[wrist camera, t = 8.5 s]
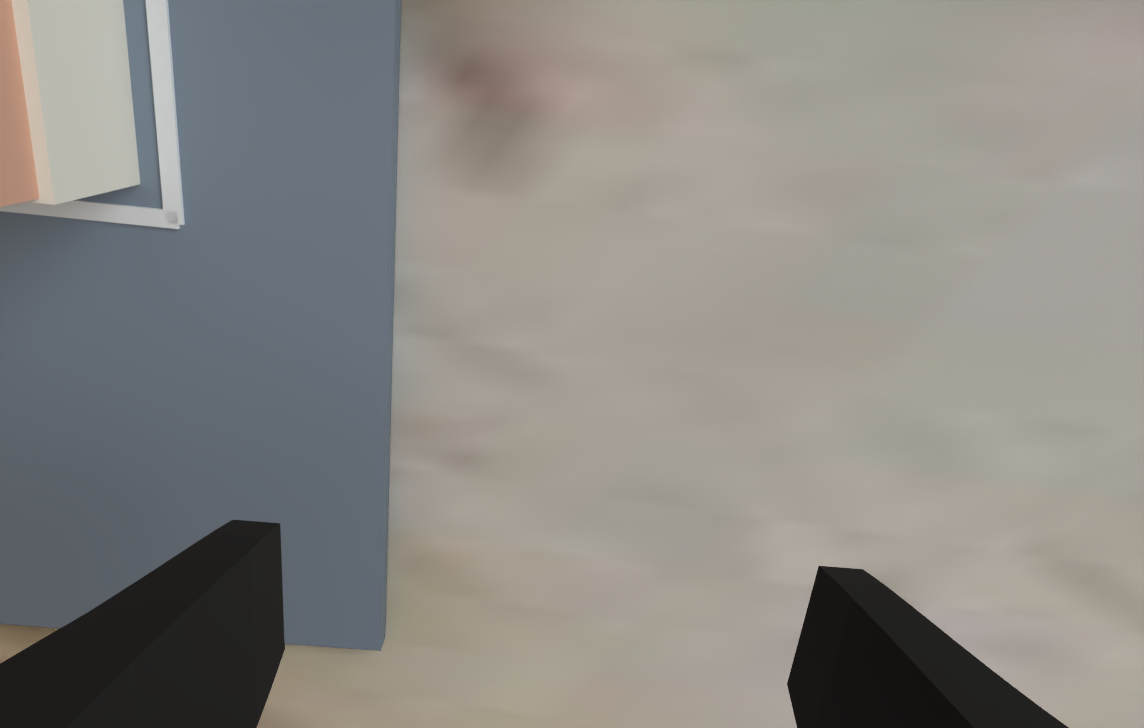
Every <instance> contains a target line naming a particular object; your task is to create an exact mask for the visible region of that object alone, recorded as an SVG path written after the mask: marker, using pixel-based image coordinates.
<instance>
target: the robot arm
mask: <svg viewBox="0 0 1144 728" xmlns="http://www.w3.org/2000/svg"><path fill="white" fill-rule="evenodd" d="M284 650H285V643H284V614H283V586H282V557H281V529H280V523H270V522H258V521H245V520H231V521H230V522H228V523H226V524H224V525H223V526H221V527H219V528H218V529H216V530H215V531H213V532H211V533H210V534H208V535H207V536H205V537H204V538H202V539H200V540H199V541H197V542H196V543H194V544H193V545H191V546H190V547H188V548H187V549H185V550H184V551H182V552H181V553H179V554H178V555H176V556H175V557H173V558H171V559H170V560H168V561H167V562H165V563H164V564H162V565H161V566H159V567H158V568H156V569H155V570H153V571H152V572H150V573H149V574H147V575H145V576H144V577H142V578H141V579H139V580H138V581H136V582H134V583H133V584H131V585H130V586H128V587H127V588H125V589H124V590H122V591H120V592H119V593H117V594H116V595H114V596H113V597H111V598H109V599H108V600H106V601H105V602H103V603H102V604H100V605H99V606H97V607H95V608H94V609H92V610H91V611H89V612H87V613H86V614H84V615H82V616H80V617H79V618H77V619H75V620H74V621H72V622H70V623H69V624H67V625H65V626H63V627H62V628H60V629H58V630H57V631H55V632H53V633H52V634H50V635H48V636H46V637H45V638H43V639H41V640H40V641H38V642H36V643H35V644H33V645H31V646H30V647H28V648H26V649H24V650H23V651H21V652H19V653H18V654H16V655H14V656H13V657H11V658H9V659H7V660H6V661H4V662H2V663H1V664H0V728H256V727H257V725H258V722H259V719H260V717H261V714H262V711H263V709H264V706H265V703H266V701H267V698H268V695H269V693H270V690H271V687H272V684H273V681H274V678H275V676H276V673H277V670H278V667H279V664H280V661H281V658H282V655H283V653H284ZM787 685H788V689H789V694H790V698H791V702H792V707H793V711H794V716H795V720H796V724H797V728H1068V727H1067V726H1066V725H1064V724H1063V723H1061V722H1060V721H1059V720H1057V719H1056V718H1054V717H1053V716H1052V715H1050V714H1049V713H1048V712H1046V711H1045V710H1043V709H1042V708H1041V707H1039V706H1038V705H1037V704H1035V703H1034V702H1033V701H1031V700H1030V699H1029V698H1027V697H1026V696H1025V695H1023V694H1022V693H1021V692H1019V691H1018V690H1017V689H1016V688H1014V687H1013V686H1012V685H1010V684H1009V683H1008V682H1006V681H1005V680H1004V679H1003V678H1001V677H1000V676H999V675H997V674H996V673H995V672H993V671H992V670H991V669H990V668H988V667H987V666H986V665H985V664H983V663H982V662H981V661H980V660H978V659H977V658H976V657H974V656H973V655H972V654H971V653H969V652H968V651H967V650H966V649H964V648H963V647H962V646H961V645H959V644H958V643H957V642H956V641H954V640H953V639H952V638H951V637H949V636H948V635H947V634H946V633H944V632H943V631H942V630H941V629H939V628H938V627H937V626H936V625H934V624H933V623H932V622H931V621H929V620H928V619H927V618H926V617H925V616H923V615H922V614H921V613H920V612H918V611H917V610H916V609H915V608H913V607H912V606H911V605H910V604H908V603H907V602H906V601H904V600H903V599H902V598H901V597H899V596H898V595H897V594H896V593H894V592H893V591H892V590H890V589H889V588H888V587H887V586H885V585H884V584H883V583H881V582H880V581H878V580H877V579H876V578H874V577H873V576H871V575H870V574H869V573H867V572H866V571H864V570H863V569H851V568H838V567H826V566H819V567H818V571H817V575H816V579H815V582H814V586H813V590H812V593H811V597H810V601H809V605H808V608H807V612H806V616H805V620H804V623H803V627H802V631H801V635H800V638H799V642H798V646H797V649H796V653H795V657H794V661H793V664H792V668H791V672H790V676H789V679H788V683H787Z"/></svg>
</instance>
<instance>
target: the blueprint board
mask: <svg viewBox="0 0 1144 728" xmlns="http://www.w3.org/2000/svg"><path fill="white" fill-rule="evenodd" d="M12 7H13V14H14V21H15V28H16V35H17V42H18V49H19V56H20V63H21V70H22V78H23V85H24V92H25V99H26V106H27V113H28V120H29V127H30V134H31V141H32V148H33V155H34V162H35V170H36V177H37V184H38V191H39V199H35V200H30V201H26V202H21V203H17V204H12V205H8V206H3V207H0V624H8V625H22V626H36V627H51V628H62V627H63V626H65V625H67V624H69V623H70V622H72V621H74V620H75V619H77V618H79V617H80V616H82V615H84V614H86V613H87V612H89V611H91V610H92V609H94V608H95V607H97V606H99V605H100V604H102V603H103V602H105V601H106V600H108V599H109V598H111V597H113V596H114V595H116V594H117V593H119V592H120V591H122V590H124V589H125V588H127V587H128V586H130V585H131V584H133V583H134V582H136V581H138V580H139V579H141V578H142V577H144V576H145V575H147V574H149V573H150V572H152V571H153V570H155V569H156V568H158V567H159V566H161V565H162V564H164V563H165V562H167V561H168V560H170V559H171V558H173V557H175V556H176V555H178V554H179V553H181V552H182V551H184V550H185V549H187V548H188V547H190V546H191V545H193V544H194V543H196V542H197V541H199V540H200V539H202V538H204V537H205V536H207V535H208V534H210V533H211V532H213V531H215V530H216V529H218V528H219V527H221V526H223V525H224V524H226V523H228V522H230V521H231V520H245V521H258V522H270V523H280V529H281V557H282V586H283V614H284V643H285V644H292V645H306V646H321V647H335V648H349V649H363V650H377V651H381V648H382V645H383V642H384V638H385V625H386V585H387V545H388V505H389V465H390V425H391V385H392V345H393V305H394V265H395V225H396V185H397V145H398V105H399V65H400V25H401V0H12Z"/></svg>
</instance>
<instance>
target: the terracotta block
mask: <svg viewBox="0 0 1144 728" xmlns="http://www.w3.org/2000/svg"><path fill="white" fill-rule="evenodd" d="M35 199H39V191H38V184H37V177H36V170H35V162H34V155H33V148H32V141H31V134H30V127H29V120H28V113H27V106H26V99H25V92H24V85H23V78H22V70H21V63H20V56H19V49H18V42H17V35H16V28H15V21H14V14H13V7H12V0H0V207H3V206H8V205H12V204H17V203H21V202H26V201H30V200H35Z"/></svg>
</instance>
